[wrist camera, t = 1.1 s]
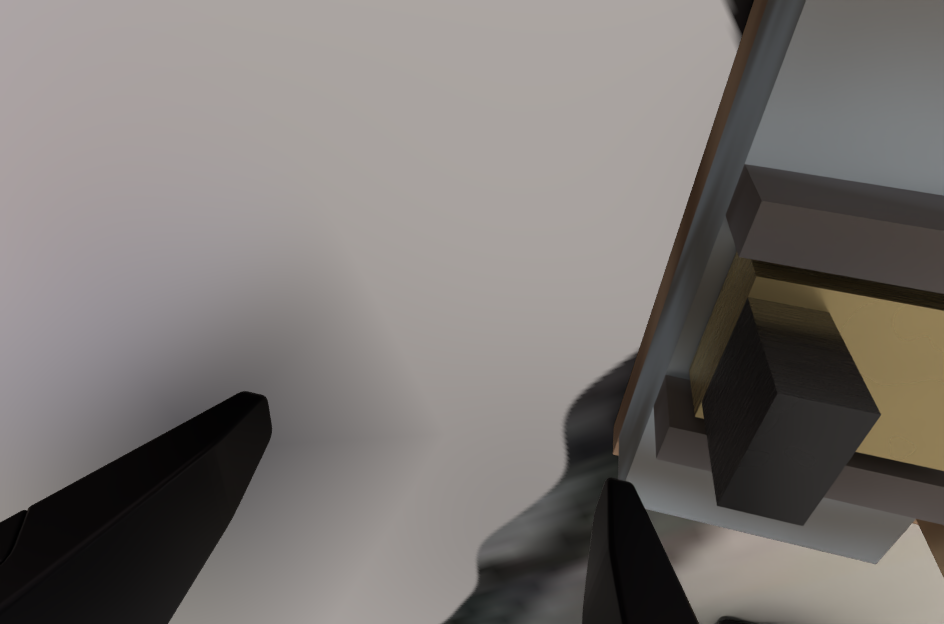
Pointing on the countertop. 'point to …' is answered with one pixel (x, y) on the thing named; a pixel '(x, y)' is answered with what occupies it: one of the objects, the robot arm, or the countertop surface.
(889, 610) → the countertop surface
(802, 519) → the yellow and black block
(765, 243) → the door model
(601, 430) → the countertop surface
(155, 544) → the robot arm
